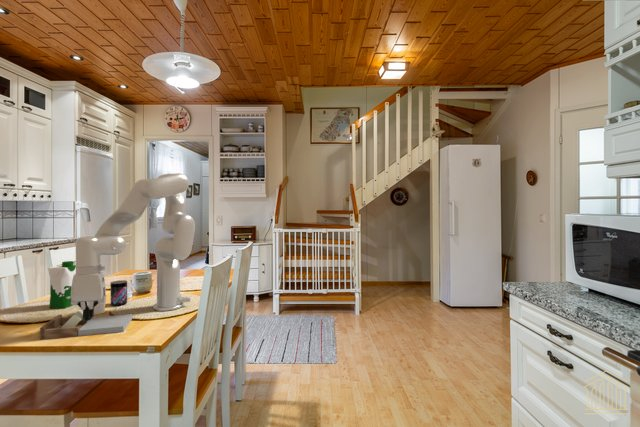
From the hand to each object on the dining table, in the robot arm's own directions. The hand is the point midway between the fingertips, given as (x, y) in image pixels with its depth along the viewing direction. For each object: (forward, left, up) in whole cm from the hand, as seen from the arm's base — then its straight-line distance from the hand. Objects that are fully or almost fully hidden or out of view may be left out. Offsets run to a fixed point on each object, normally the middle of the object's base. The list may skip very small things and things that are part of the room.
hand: (88, 319), depth 123 cm
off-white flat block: (+3, 0, -1) cm, 4 cm away
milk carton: (+20, -34, -4) cm, 40 cm away
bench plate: (-6, 0, -4) cm, 7 cm away
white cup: (+3, -20, -4) cm, 21 cm away
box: (+6, 0, -4) cm, 7 cm away
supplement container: (-3, -30, -4) cm, 30 cm away
